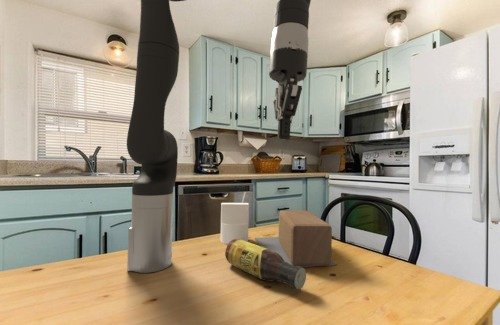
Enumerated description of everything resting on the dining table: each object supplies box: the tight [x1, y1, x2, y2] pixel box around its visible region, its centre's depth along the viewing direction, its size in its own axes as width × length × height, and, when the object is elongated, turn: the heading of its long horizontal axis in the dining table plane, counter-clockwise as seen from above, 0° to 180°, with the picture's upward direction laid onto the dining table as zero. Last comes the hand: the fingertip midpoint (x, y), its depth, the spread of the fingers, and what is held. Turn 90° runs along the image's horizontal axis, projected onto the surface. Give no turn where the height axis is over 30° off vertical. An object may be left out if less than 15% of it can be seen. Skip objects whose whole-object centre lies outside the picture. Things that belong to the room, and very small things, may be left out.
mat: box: [254, 236, 338, 268], centre depth 71 cm, size 16×24×1 cm, turn 10°
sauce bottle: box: [224, 239, 307, 290], centre depth 54 cm, size 6×6×20 cm
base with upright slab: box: [220, 202, 250, 245], centre depth 79 cm, size 9×9×12 cm
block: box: [278, 210, 333, 266], centre depth 68 cm, size 10×10×20 cm
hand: (283, 139), depth 49 cm, fingers closed
